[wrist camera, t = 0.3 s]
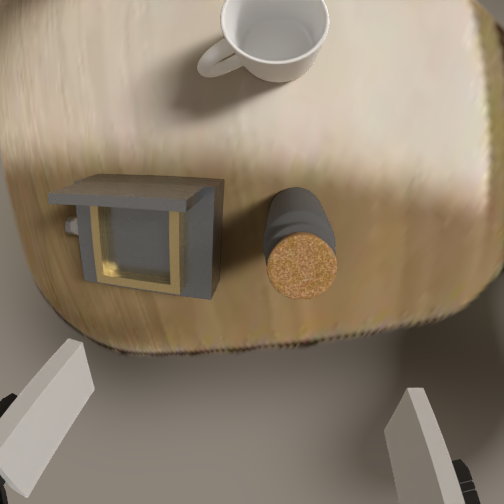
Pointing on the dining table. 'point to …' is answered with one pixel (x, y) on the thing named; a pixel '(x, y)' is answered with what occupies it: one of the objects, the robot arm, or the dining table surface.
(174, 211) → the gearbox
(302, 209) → the bottle
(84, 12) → the dining table surface
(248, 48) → the mug
